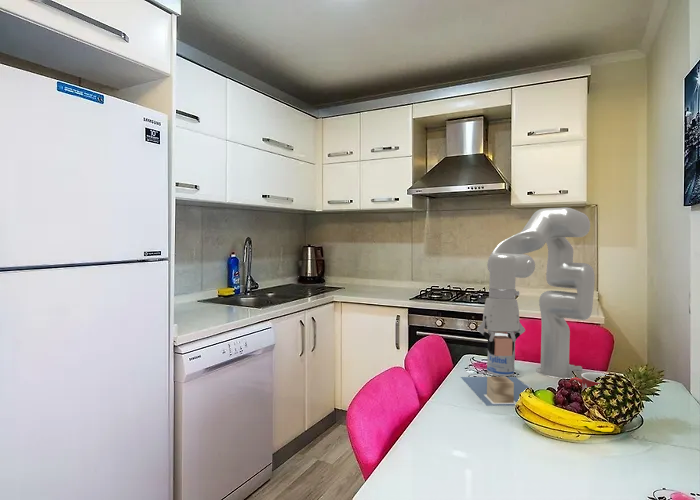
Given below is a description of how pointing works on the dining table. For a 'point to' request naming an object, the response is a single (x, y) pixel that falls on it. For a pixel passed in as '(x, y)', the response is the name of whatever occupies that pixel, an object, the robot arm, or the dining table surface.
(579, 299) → the robot arm
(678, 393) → the dining table surface
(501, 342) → the terracotta block
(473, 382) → the board
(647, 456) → the dining table surface
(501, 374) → the supplement tub
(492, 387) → the beech block
